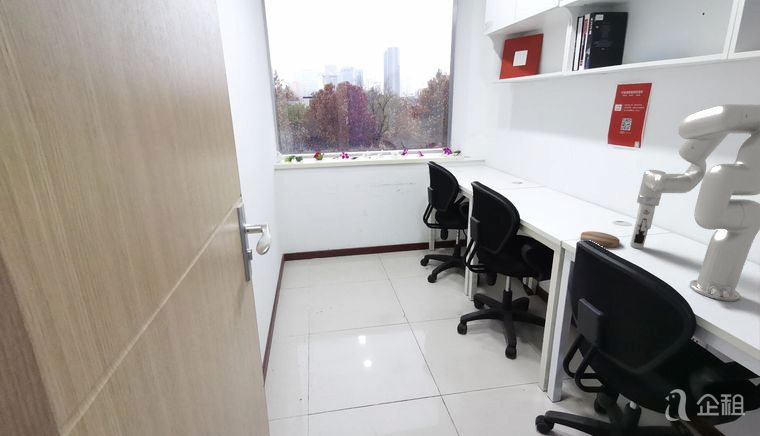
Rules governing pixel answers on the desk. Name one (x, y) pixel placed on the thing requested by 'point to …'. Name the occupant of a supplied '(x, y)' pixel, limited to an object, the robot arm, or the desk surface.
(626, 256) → the desk surface
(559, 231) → the desk surface
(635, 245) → the beverage can
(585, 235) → the walnut board
